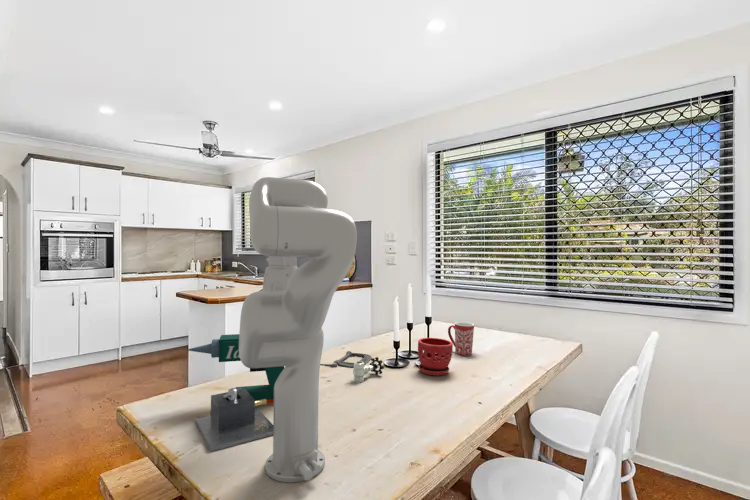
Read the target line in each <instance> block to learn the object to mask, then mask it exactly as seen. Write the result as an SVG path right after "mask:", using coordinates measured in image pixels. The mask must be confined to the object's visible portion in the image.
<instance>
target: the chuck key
mask: <svg viewBox="0 0 750 500" xmlns="http://www.w3.org/2000/svg"><path fill="white" fill-rule="evenodd" d="M227 392H228V394H225V395H223V399H226V398H228V401H230V400H235V399H237V393H239V392H242V388H239V389H237V388H236V387H231V388H229V389H228V391H227Z"/></svg>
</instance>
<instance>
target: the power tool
mask: <svg viewBox="0 0 750 500" xmlns="http://www.w3.org/2000/svg"><path fill="white" fill-rule="evenodd" d="M186 351H189V352H195V353H202V354H209V355H210V356H211V358H213V359H215V358H218V363H226V362H227V363H228V362H241V359H240V356H239V333H237V334H236V333H235V334H234V333H233V334H221V335H220V337H219V338H218V339H217V338H216V339H215V338H213V339H211V343H208V344H203V345H199V346H195V347H191V348H188V349H186ZM284 368H285V366H278V367H267V368H249V372H250V373H254V372H265V375H266V380H267V383H268V384H259V385H247V386H235V388H237V389H239V388H242V389H245V390H246V391H247V392H248V393H249V394H250V395H251V396H252V397H253V398H254V399H255V401H257V400H262V399H266V401H267V403H266V404H265V405H269V404H270V405H272V404H273V405H274V386H275V382H276V380H277V378H278V376H279V375H280V373H281V372H282V371H283V369H284Z"/></svg>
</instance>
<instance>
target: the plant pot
mask: <svg viewBox="0 0 750 500" xmlns="http://www.w3.org/2000/svg"><path fill="white" fill-rule="evenodd" d="M453 347H454V345H453V343H452V341H451V340H447V339H445V338H437V337H424V338H420V339H418V341H417V352H418V360H419V362H420V364H419V365H418V369H419V370H420V372H421V373H423V374H425V375H429V376H443V375H446V374H447V373H449V371H450V367H449V365H450V363H451V360H452V357H453Z"/></svg>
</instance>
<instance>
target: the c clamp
mask: <svg viewBox="0 0 750 500" xmlns="http://www.w3.org/2000/svg"><path fill="white" fill-rule="evenodd" d="M355 356H357V358H361V359H360V360H359V361H362V362H364V365H367V364H368V363H369V362H370V361H371V359H372V358H373V357H372V356H371V355H370V354H366V353H360V352H352V351H350V350H348V351H346V352H345V355H343V356H342V357H341V358H339V359H336V360H334V361H333V363H320V366H323V365H325V367H331V368H335V367H336V368H337V367H338V366H339V367H340V366H341V367H345V368H349V367H350V369H354V362H348V361H346V359H348V358H352V357H355ZM363 357H364V358H363ZM366 363H367V364H366ZM337 365H338V366H337Z"/></svg>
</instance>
